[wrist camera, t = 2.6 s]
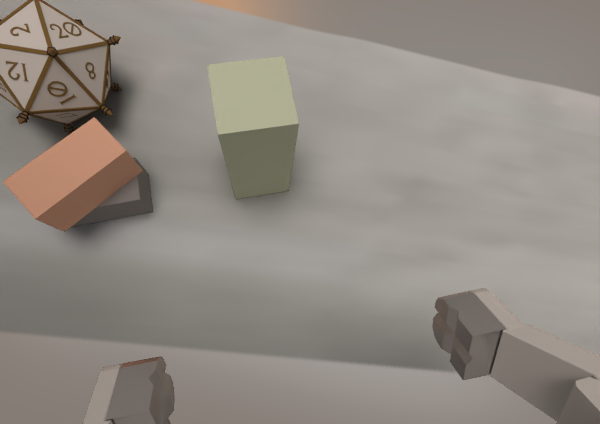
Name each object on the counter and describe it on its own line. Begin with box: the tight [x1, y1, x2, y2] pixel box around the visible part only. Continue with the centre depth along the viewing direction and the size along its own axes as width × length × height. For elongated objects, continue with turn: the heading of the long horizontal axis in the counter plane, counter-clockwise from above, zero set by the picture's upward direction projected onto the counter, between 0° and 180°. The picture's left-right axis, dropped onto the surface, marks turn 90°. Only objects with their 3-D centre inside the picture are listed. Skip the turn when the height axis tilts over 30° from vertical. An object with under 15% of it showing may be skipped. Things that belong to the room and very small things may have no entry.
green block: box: [207, 56, 299, 199], centre depth 23 cm, size 4×4×10 cm
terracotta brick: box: [3, 117, 143, 232], centre depth 22 cm, size 6×3×3 cm, turn 135°
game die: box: [0, 0, 121, 135], centre depth 25 cm, size 9×8×10 cm
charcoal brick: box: [71, 158, 153, 227], centre depth 25 cm, size 6×3×3 cm, turn 103°
